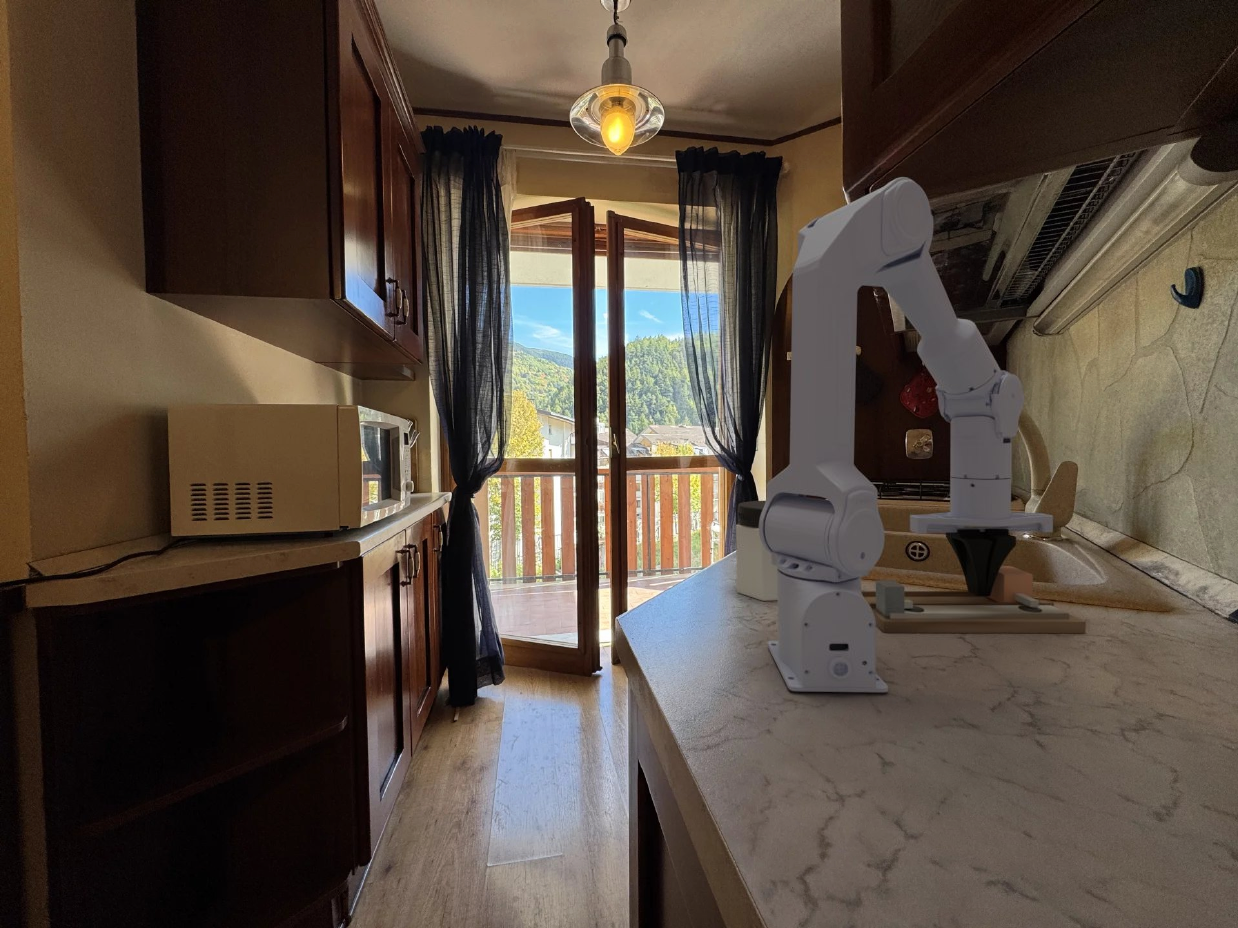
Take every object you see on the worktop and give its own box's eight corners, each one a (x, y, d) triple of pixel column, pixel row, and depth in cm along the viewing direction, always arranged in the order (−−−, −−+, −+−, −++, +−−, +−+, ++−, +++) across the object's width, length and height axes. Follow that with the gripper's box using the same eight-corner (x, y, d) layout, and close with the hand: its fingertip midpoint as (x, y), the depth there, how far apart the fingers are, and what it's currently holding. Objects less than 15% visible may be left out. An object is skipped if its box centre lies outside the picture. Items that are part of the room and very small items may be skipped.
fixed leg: (916, 618, 54) (916, 586, 54) (885, 618, 55) (885, 586, 55) (905, 610, 57) (906, 580, 57) (875, 610, 57) (875, 580, 57)
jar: (747, 579, 75) (745, 499, 74) (805, 585, 71) (804, 501, 70) (731, 597, 67) (729, 507, 66) (795, 605, 63) (794, 510, 62)
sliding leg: (1049, 612, 54) (1049, 580, 54) (1019, 612, 55) (1020, 581, 54) (1010, 595, 60) (1010, 566, 60) (984, 595, 61) (984, 566, 60)
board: (1085, 633, 52) (1085, 615, 52) (883, 632, 54) (883, 615, 54) (1026, 605, 61) (1026, 589, 61) (853, 605, 63) (853, 590, 62)
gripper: (1022, 473, 61) (1021, 583, 62) (898, 476, 63) (898, 583, 64) (1068, 478, 54) (1066, 601, 55) (927, 481, 56) (927, 602, 57)
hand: (978, 593), depth 59 cm, fingers closed
